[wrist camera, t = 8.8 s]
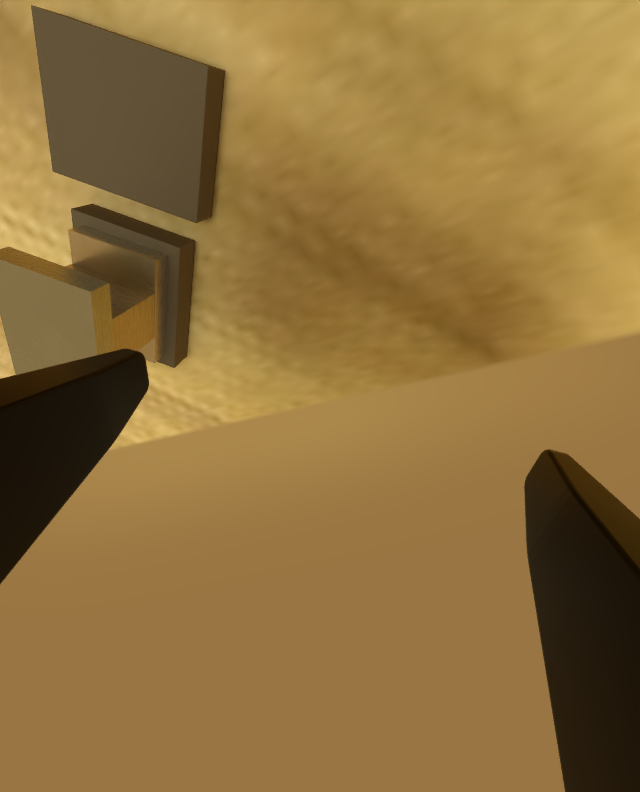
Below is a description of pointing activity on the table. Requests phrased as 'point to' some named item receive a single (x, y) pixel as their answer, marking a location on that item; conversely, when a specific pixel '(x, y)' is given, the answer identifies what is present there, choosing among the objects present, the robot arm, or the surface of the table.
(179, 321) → the stand
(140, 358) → the robot arm
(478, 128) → the table surface
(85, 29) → the stand
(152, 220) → the table surface
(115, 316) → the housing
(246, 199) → the table surface
